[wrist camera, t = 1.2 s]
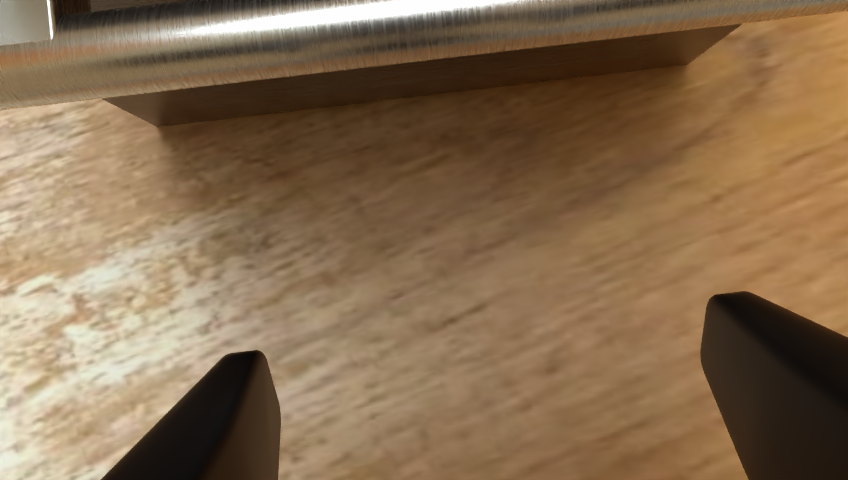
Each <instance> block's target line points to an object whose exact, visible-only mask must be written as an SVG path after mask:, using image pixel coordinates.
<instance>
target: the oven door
mask: <svg viewBox="0 0 848 480" xmlns="http://www.w3.org/2000/svg"><path fill="white" fill-rule="evenodd" d="M845 11H848V0H0V110H7V109H15V108H24V107H32V106H41V105H49V104H58V103H67V102H75V101H84V100H92V99H103V100H105V101H107V102H109V103H111V104H113V105H115V106H117V107H119V108H121V109H123V110H125V111H127V112H129V113H131V114H133V115H135V116H137V117H139V118H141V119H143V120H145V121H147V122H149V123H151V124H153V125H155V126H157V127H159V126H167V125H176V124H185V123H193V122H202V121H210V120H219V119H227V118H236V117H244V116H253V115H261V114H270V113H278V112H287V111H295V110H304V109H313V108H321V107H330V106H338V105H347V104H355V103H364V102H372V101H381V100H389V99H398V98H406V97H415V96H423V95H432V94H441V93H449V92H458V91H466V90H475V89H483V88H492V87H500V86H509V85H517V84H526V83H534V82H543V81H551V80H560V79H569V78H577V77H586V76H594V75H603V74H611V73H620V72H628V71H637V70H645V69H654V68H662V67H671V66H679V65H687V64H689V63H690V62H692V61H693V60H694V59H696V58H697V57H698V56H700V55H701V54H702V53H704V52H705V51H707V50H708V49H709V48H711V47H712V46H713V45H715V44H716V43H717V42H719V41H720V40H721V39H723V38H724V37H725V36H727V35H728V34H729V33H731V32H732V31H733V30H735V29H736V28H737V27H739V26H740V25H742V24H743V23H751V22H759V21H768V20H777V19H785V18H794V17H802V16H811V15H819V14H828V13H836V12H845Z"/></svg>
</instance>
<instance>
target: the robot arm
mask: <svg viewBox="0 0 848 480" xmlns="http://www.w3.org/2000/svg"><path fill="white" fill-rule="evenodd" d="M700 353H701V363H702V367H703V371H704V373H705V376H706V378H707V381H708V383H709V386H710V388H711V390H712V393H713V395H714V398H715V400H716V403H717V405H718V407H719V410H720V412H721V415H722V417H723V420H724V422H725V424H726V427H727V429H728V432H729V434H730V437H731V439H732V441H733V444H734V446H735V449H736V451H737V454H738V456H739V458H740V461H741V463H742V466H743V468H744V470H745V473H746V475H747V477H748V479H749V480H848V337H845V336H843V335H841V334H839V333H837V332H835V331H832V330H830V329H828V328H826V327H824V326H822V325H820V324H817V323H815V322H813V321H811V320H809V319H807V318H804V317H802V316H800V315H798V314H796V313H794V312H792V311H789V310H787V309H785V308H783V307H781V306H779V305H777V304H774V303H772V302H770V301H768V300H766V299H764V298H761V297H759V296H757V295H755V294H753V293H750V292H746V291H742V292H733V293H725V294H717V295H714V296H713V297H711V298H710V299H709V301H708V303H707V307H706V314H705V321H704V328H703V336H702V343H701V352H700ZM280 429H281V414H280V406H279V401H278V398H277V394H276V391H275V387H274V384H273V380H272V376H271V373H270V369H269V366H268V362H267V359H266V357H265V355H264V354H263V353H262V352H261V351H259V350H253V351H245V352H236V353H230V354H227V355H225V356H224V357H223V358H221V359H220V360H219V361H218V362H217V363H216V364H215V365H214V366H213V367H212V368H211V369H210V370H209V371H208V372H207V373H206V374H205V376H204V377H203V378H202V379H201V380H200V381H199V382H198V383H197V384H196V385H195V386H194V387H193V388H192V389H191V390H190V391H189V392H188V393H187V394H186V395H185V396H184V397H183V398H182V399H181V400H180V401H179V402H178V403H177V404H176V405H175V406H174V407H173V408H172V409H171V410H170V411H169V412H168V413H167V414H166V415H165V416H164V417H163V418H162V419H161V420H160V421H159V422H158V423H157V424H156V425H155V426H154V427H153V428H152V429H151V430H150V431H149V432H148V433H147V434H146V435H145V436H144V437H143V438H142V439H141V440H140V441H139V442H138V443H137V444H136V445H135V446H134V447H133V448H132V449H131V450H130V451H129V452H128V453H127V454H126V455H125V456H124V457H123V458H122V459H121V460H120V461H119V462H118V463H117V464H116V465H115V466H114V467H113V468H112V469H111V470H110V471H109V472H108V473H107V474H106V475H105V476H104V477H103V478H102V479H101V480H278V471H279V450H280Z"/></svg>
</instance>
